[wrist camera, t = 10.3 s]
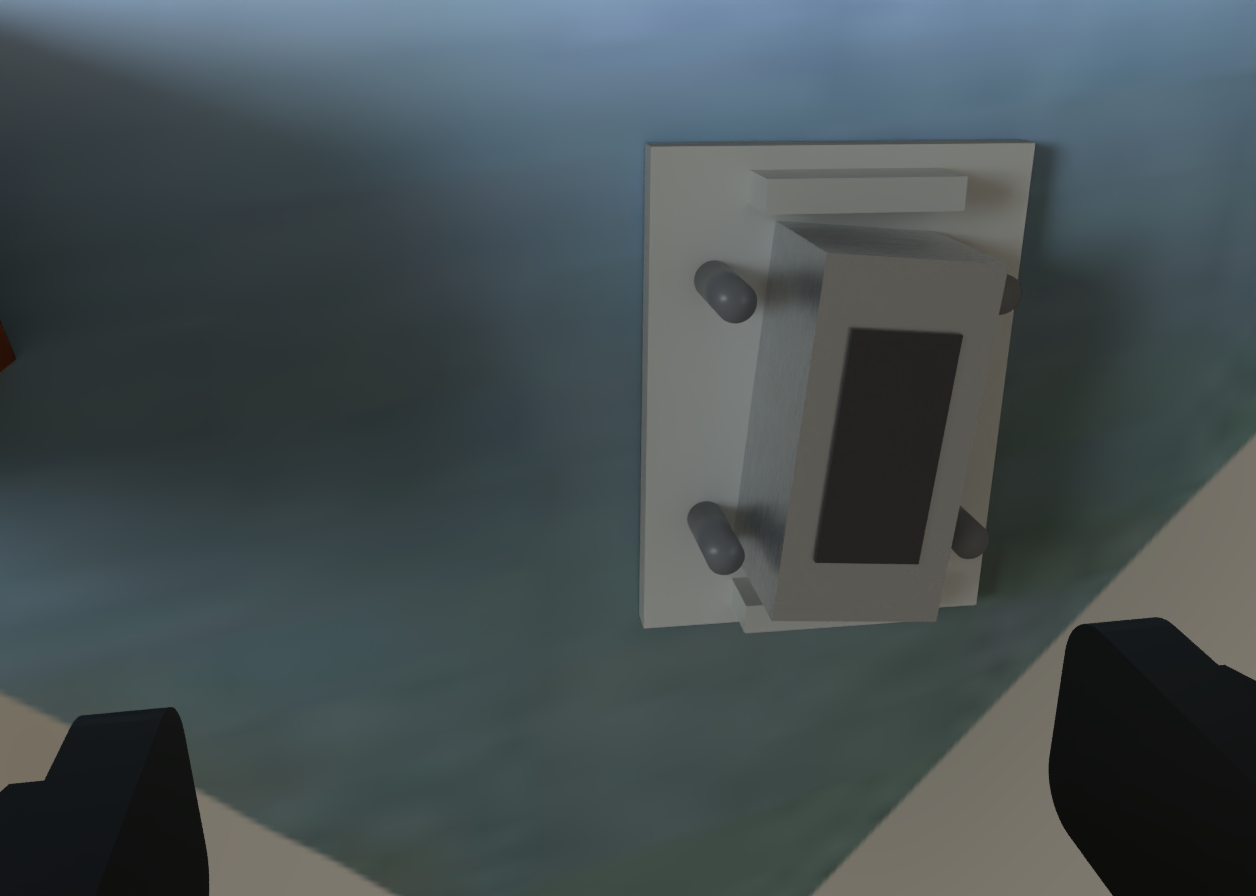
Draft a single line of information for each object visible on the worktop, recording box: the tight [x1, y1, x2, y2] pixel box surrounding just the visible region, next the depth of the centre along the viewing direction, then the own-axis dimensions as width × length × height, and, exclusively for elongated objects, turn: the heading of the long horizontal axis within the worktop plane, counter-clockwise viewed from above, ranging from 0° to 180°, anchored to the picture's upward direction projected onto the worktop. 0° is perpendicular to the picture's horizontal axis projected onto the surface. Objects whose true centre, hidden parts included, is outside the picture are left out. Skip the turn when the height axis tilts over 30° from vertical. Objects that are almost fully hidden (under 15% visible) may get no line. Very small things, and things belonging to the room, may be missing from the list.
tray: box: [639, 140, 1035, 633], centre depth 37 cm, size 16×12×4 cm
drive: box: [734, 221, 1009, 622], centre depth 35 cm, size 11×5×5 cm, turn 175°
